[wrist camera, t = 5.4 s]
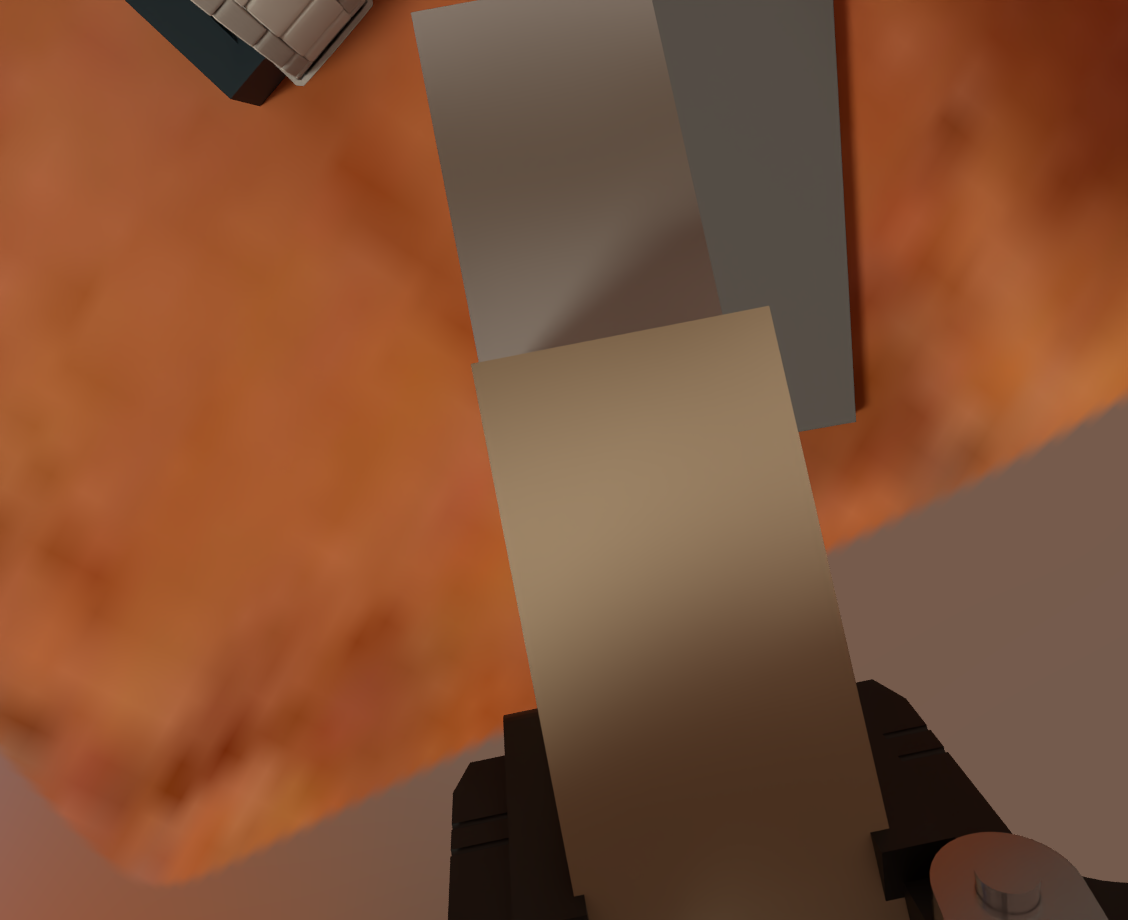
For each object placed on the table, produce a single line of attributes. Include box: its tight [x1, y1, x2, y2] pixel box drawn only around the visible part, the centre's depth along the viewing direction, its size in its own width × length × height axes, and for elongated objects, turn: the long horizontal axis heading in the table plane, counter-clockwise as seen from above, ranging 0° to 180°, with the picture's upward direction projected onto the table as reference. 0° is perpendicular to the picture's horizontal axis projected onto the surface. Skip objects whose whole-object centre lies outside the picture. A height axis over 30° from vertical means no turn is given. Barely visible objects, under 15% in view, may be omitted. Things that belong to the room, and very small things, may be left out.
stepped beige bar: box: [411, 0, 910, 920], centre depth 11 cm, size 15×3×5 cm, turn 11°
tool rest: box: [652, 0, 856, 432], centre depth 26 cm, size 8×18×1 cm, turn 9°
